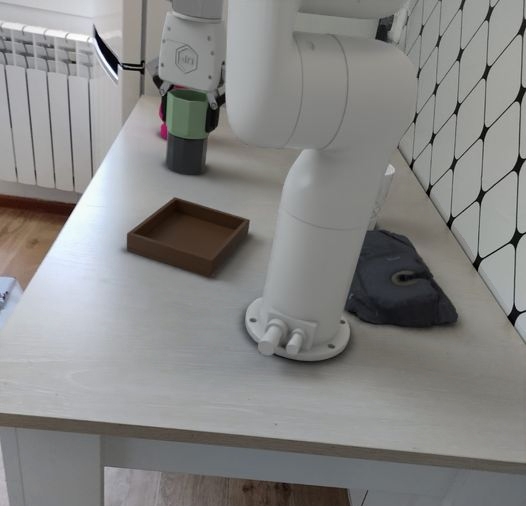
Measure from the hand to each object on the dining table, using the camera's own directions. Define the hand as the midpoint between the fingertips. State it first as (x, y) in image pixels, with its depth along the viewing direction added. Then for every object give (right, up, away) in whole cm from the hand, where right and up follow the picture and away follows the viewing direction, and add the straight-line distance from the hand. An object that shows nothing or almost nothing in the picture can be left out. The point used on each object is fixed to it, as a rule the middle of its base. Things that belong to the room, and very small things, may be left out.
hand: (189, 124), depth 100 cm
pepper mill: (-5, +4, +16) cm, 17 cm away
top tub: (0, -1, +1) cm, 1 cm away
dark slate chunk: (+30, -29, -17) cm, 45 cm away
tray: (+2, -23, -17) cm, 29 cm away
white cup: (+28, -18, -3) cm, 33 cm away
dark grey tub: (-1, -6, +5) cm, 8 cm away
